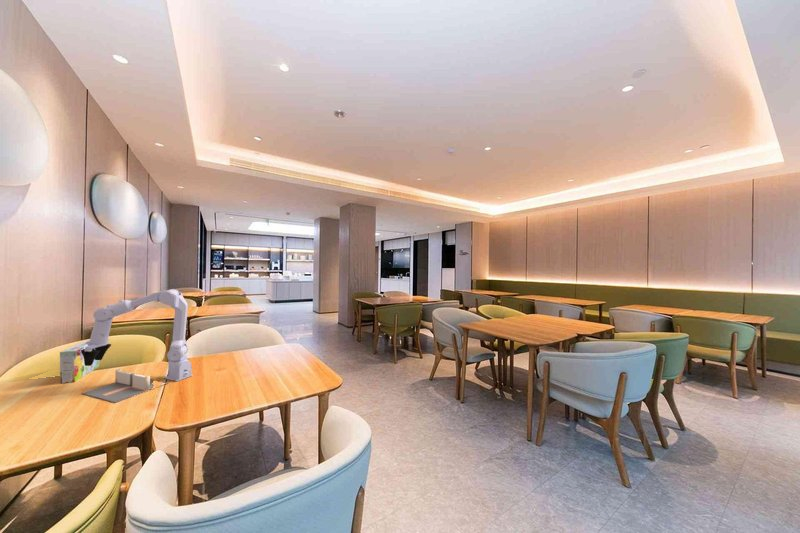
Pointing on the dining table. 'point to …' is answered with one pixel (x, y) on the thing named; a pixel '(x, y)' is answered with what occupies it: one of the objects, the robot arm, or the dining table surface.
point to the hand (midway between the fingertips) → (93, 362)
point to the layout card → (116, 391)
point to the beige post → (124, 377)
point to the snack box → (74, 363)
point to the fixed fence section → (141, 381)
